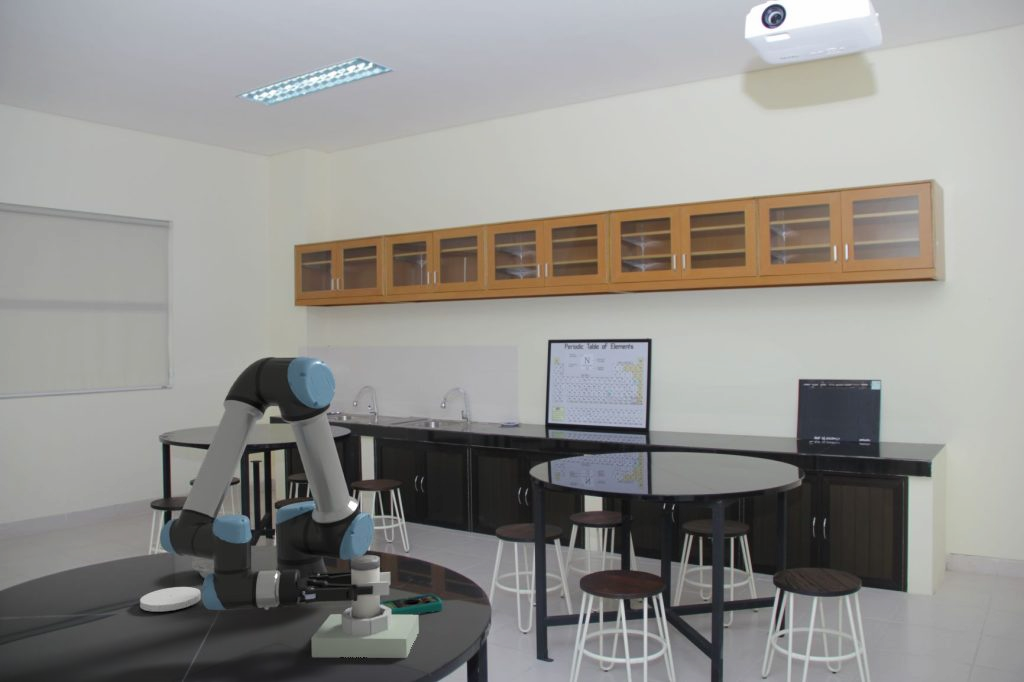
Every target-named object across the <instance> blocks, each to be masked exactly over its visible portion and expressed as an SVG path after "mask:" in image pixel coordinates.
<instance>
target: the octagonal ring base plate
mask: <svg viewBox="0 0 1024 682" xmlns="http://www.w3.org/2000/svg"><path fill="white" fill-rule="evenodd" d="M419 615H420V614H418V615H391V609H390V608H388V607H386V606H384V605H381V604H380V615H379V616H377V617H374V618H370V619H356V618H353V617H352V606H351V607H348V608H346V609H345V610H344V611H343V612H342V613H341V614H340V613H336V614H335V613H332V614H329V616H328V617H327V618H326V619H325V620H324V622H323V623H322V624H321V626H320V627H319V628H318V630H317V631H316V632H315V633H314V634H313V635H312V637H311V658H340V657H344V658H345V657H346V658H348V657H349V659H351V658H352V657H353V658H355V659H356V657H357V658H358V657H359V658H360V657H361V658H363V657H365V658H366V657H367V658H368V659H376V658H377V659H380V658H382V659H407V658H408V656H409V654H410V652H411V650H412V648H411V647H413V646H414V644H413V643H415V642H416V639H417V637H418V635H419V634H420V624H419V622H420V619H419ZM417 634H418V635H417ZM414 641H415V642H414ZM412 645H413V646H412ZM410 649H411V650H410ZM350 657H351V658H350ZM346 658H345V659H346ZM359 658H358V659H359ZM365 658H364V659H365ZM367 658H366V659H367Z"/></svg>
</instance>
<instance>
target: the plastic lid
mask: <svg viewBox="0 0 1024 682" xmlns="http://www.w3.org/2000/svg"><path fill="white" fill-rule="evenodd" d="M201 599H202V593H201V590H200V589H199V588H195V587H191V586H189V587H188V586H175V587H167V588H161V589H158V590H154V591H151V592H149V593H146V594H144V595H143V596H141V597H140V599H139V607H140V609H142V610H143V611H148V612H154V613H155V612H156V613H158V612H160V613H161V612H169V611H176V610H180V609H184V608H188V607H190V606H193V605H195V604H197V603H199V602H200V600H201Z"/></svg>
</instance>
